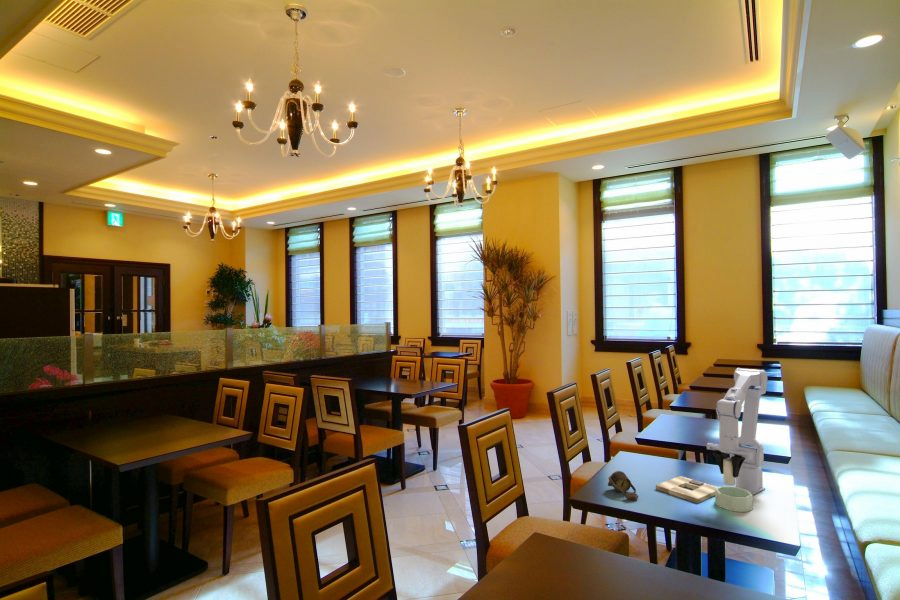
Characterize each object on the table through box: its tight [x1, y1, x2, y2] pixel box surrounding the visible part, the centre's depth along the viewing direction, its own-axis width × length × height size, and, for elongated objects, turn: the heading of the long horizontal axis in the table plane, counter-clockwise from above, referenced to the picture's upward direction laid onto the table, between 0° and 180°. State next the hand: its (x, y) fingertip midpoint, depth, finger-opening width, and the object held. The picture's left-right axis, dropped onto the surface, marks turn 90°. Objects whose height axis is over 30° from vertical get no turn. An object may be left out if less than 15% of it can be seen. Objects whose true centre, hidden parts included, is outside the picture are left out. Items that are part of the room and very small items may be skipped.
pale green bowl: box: [714, 485, 753, 513], centre depth 172 cm, size 11×11×4 cm
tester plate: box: [655, 475, 719, 504], centre depth 185 cm, size 16×16×2 cm
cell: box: [722, 457, 736, 487], centre depth 173 cm, size 4×4×9 cm
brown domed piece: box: [607, 470, 639, 501], centre depth 183 cm, size 7×13×10 cm
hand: (729, 474), depth 173 cm, fingers closed on cell, 4 cm apart
